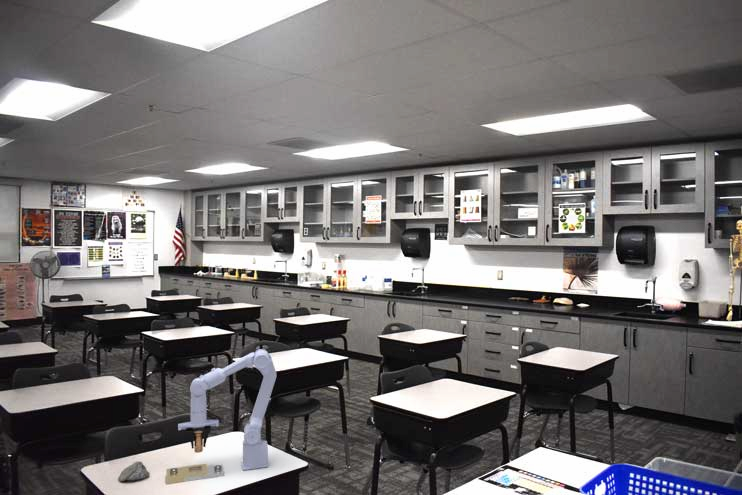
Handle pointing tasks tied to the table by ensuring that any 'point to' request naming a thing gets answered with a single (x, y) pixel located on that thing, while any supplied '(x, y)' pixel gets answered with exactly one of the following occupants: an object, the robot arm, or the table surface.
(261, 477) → the table surface
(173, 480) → the wooden peg board
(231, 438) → the table surface
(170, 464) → the table surface
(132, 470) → the gray rock
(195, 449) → the pin
